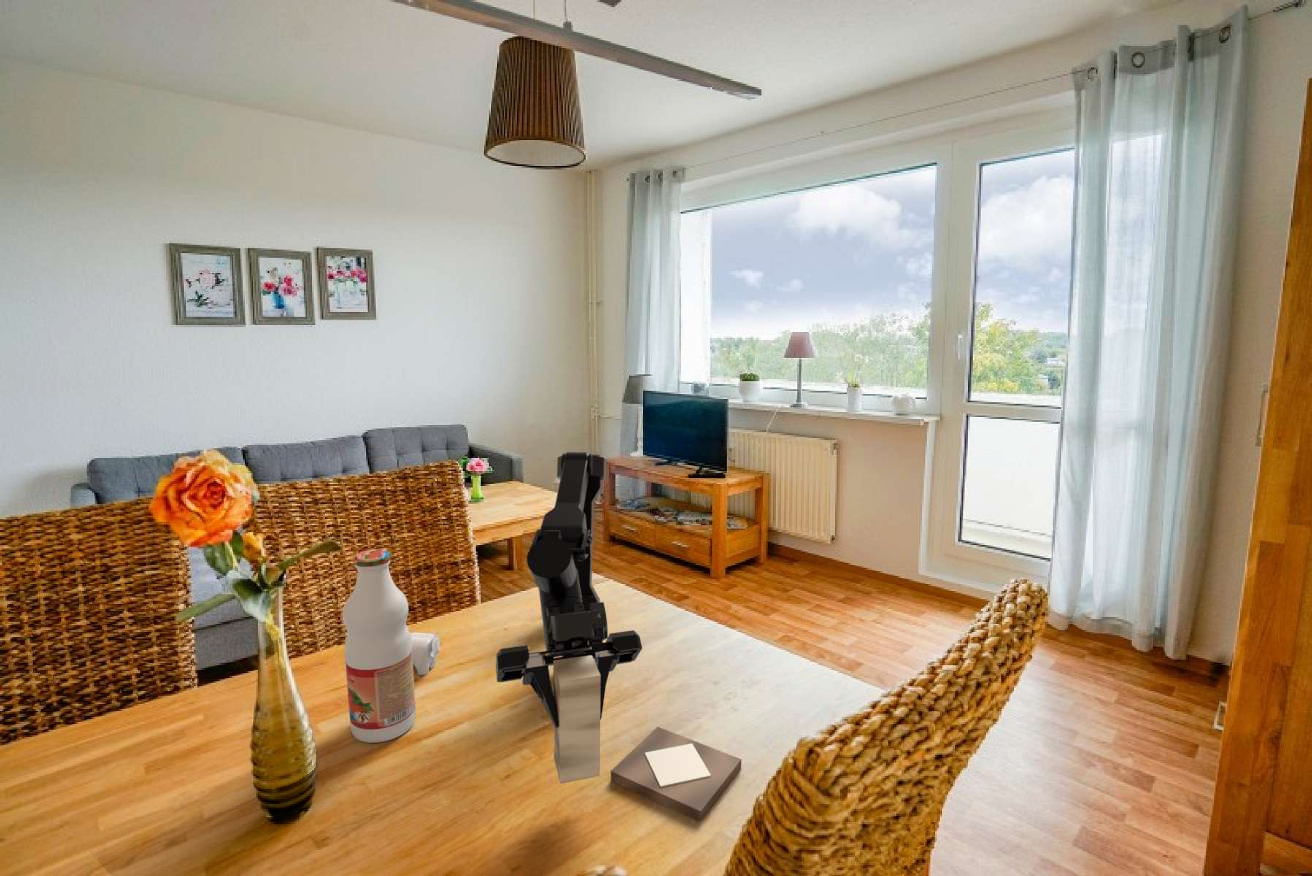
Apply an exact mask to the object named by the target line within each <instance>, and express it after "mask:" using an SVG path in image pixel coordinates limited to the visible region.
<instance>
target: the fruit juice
mask: <svg viewBox="0 0 1312 876" xmlns="http://www.w3.org/2000/svg"><path fill="white" fill-rule="evenodd" d="M353 561H354V562H353V563H354V568H355V569H356V570H357V575H356V576H357V577H356V582H355V585H354V589H353V591H352V593H351V594H350V595H349V597H348V598H347V600H346V601H345V603H344V605H343V609H342V620H343V625H344V626H345V629H346V631H347V636H346V638H345V641H344V664H345V674H346V675H345V676H346V689H347V698H348V699H347V700H348V709H349V710H348V711H349V713H348V714H349V723H350V724H349V725H350V730H351V733H352V735H353V737H354V738H355V739H357V740H358V741H360V742H363V743H369V744H370V743H372V744H374V743H375V744H376V743H383V742H387V741H391V740H393V739H397V738H399V737H401V736H402V735H404V734H405V733H407V732H408V731H409V730H410V729H411V728H412V727H413V725H414V723H415V721H416V715H417V713H416V710H417V709H416V695H415V680H414V679H415V678H414V671H413V668H414V667H413V660H412V643H411V636H410V633H411V632H410V630H409V629H410V628H408V626H407V619H408V615H409V602H408V600H407V599H408V598H407V597H406V595H405V594H404V593H403V592H402V590H400V589H399V588H398V586H397V585H396V584H395V582H394V581H393V578H392V576H391V573H390V569H389V565H390V563H391V554H390V552H389V550H386V549H382V548H379V549H378V548H377V549H376V548H374V549H367V550H363V551H361V552H358V553H356V554H355V555H354V560H353Z"/></svg>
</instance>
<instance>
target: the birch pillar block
mask: <svg viewBox="0 0 1312 876" xmlns="http://www.w3.org/2000/svg"><path fill="white" fill-rule="evenodd" d="M552 666H553V673H552V674H553V695H554V699H555V703H556V708H557V712H558V720H559V727H558V728H555V727H554V726H553V759H554V764H555V767H556V772H557V775H558V779H559V784H561V785H562V784H566V783H571V782H576V781H581V780H585V779H593V778H598V777H600V775H601V772H600V771H601V768H600V767H601V756H600V755H601V720H600V681H601V675H600V673H599V671H598V668H597V666H596V664H595V661H594V659H593V657H592V655H590V656H583V657H576V658H568V659H561V660H554V661H553V665H552Z"/></svg>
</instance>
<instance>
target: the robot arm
mask: <svg viewBox="0 0 1312 876" xmlns="http://www.w3.org/2000/svg"><path fill="white" fill-rule="evenodd" d="M556 462H557V464H556V465H557V466H556V467H557V469H556V478H557V479H559V483H558V488H557V494H556V498H555V504H554V507H553V508H552V509H551V510H549V511H548V512H546V513H545V514H544V516H543V519H542V522H541V525H540V528H538V529H537V530H536V531H535V535H534V537H533V539H532V542H531V545H530V547H529V551H528V552H527V555H526V564H527V567H528V570H529V571H530V575H531V576H532V579H533V581H534V583H535V586H536V587H537V588H538V592H539V593H538V594H539V595H538V596H539V602H540V612H541V619H542V626H543V636H544V643H545V650H543V651H536V652H530V651H529V650H530V649H529V647H528V644H526V645H518V646H510V647H502V648H500V650H499V651H498V652H497V653H496V658H495V674H496V675H495V676H496V682H497V683H505V682H512V681H517V680H522V685H524V686H528V685H529V686H530V687H531V689H533V690H534V692H535V694H536V696H537V697H538V698H539V700H540V701H541V703H542V705H543V707H544V709H545V711H546V712H547V715H548V717H549V719H550V721H551V723H552V724H553V728H554V727H555V728H558V727H559V720H558V712H557V708H556V703H555V699H554V690H553V686H552V684H551V683H552V682H551V677H550V669H549V667H550V666H553V661H554V660H561V659H568V658H576V657H583V656H590V655H592V657H593V659H594V661H595V664H596V666H597V668H598V671H599V673H600V675H601V681H600V721H601V719H602V718H603V709H604V704H605V703H604V702H605V695H606V688H607V686H606V685H607V681H608V678H609V675H610V672H613V671H614V670H615V669H616V667H617V665H621V664H628V663H632V662H634V661H636V660H637V658H638V656H639V654H640V653H641V652H642V650H643V644H642V640H641V637H640V635H639V634H638V633H637V632H636V631H635V629H634V630H632V629H631V630H626V631H620V632H619V631H618V632H611V633H609V627H608V619H607V610H606V607H605V601H602V602H601V599H600V597H599V595H598V593H597V591H596V589H595V587H594V586H593V550H594V549H593V547H594V542H595V541H594V512H595V511H594V507H595V505H594V504H595V502H596V500H597V499H598V497H599V496H600V494H601V493H602V491H603V489H604V488H603V486H604V485H603V484H604V481H606V480H607V470H608V469H607V468H608V467H607V460H606V459H605V457H603V456H601V455H600V454H599V453H598V454H597V453H596V454H593V453H589V452H588V451H587V452H585V451H567V452H566V453H562V454H561V456H558V457H557V461H556ZM605 640H606V641H605ZM604 641H605V642H604Z"/></svg>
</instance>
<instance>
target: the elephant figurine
mask: <svg viewBox="0 0 1312 876" xmlns="http://www.w3.org/2000/svg"><path fill="white" fill-rule="evenodd" d="M410 636H411V643H412V660H413V672H414V667H415V669H416V671H417V674H418V676H425V675H428V674H429V671H430V669H433V668H434V667H435V665H436V662H437V656H438V654H439V653H440V651H441V650H440V646H443V643H442V642H440V639H439V637H440V635H439V632H435V633H423V632H410Z"/></svg>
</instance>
